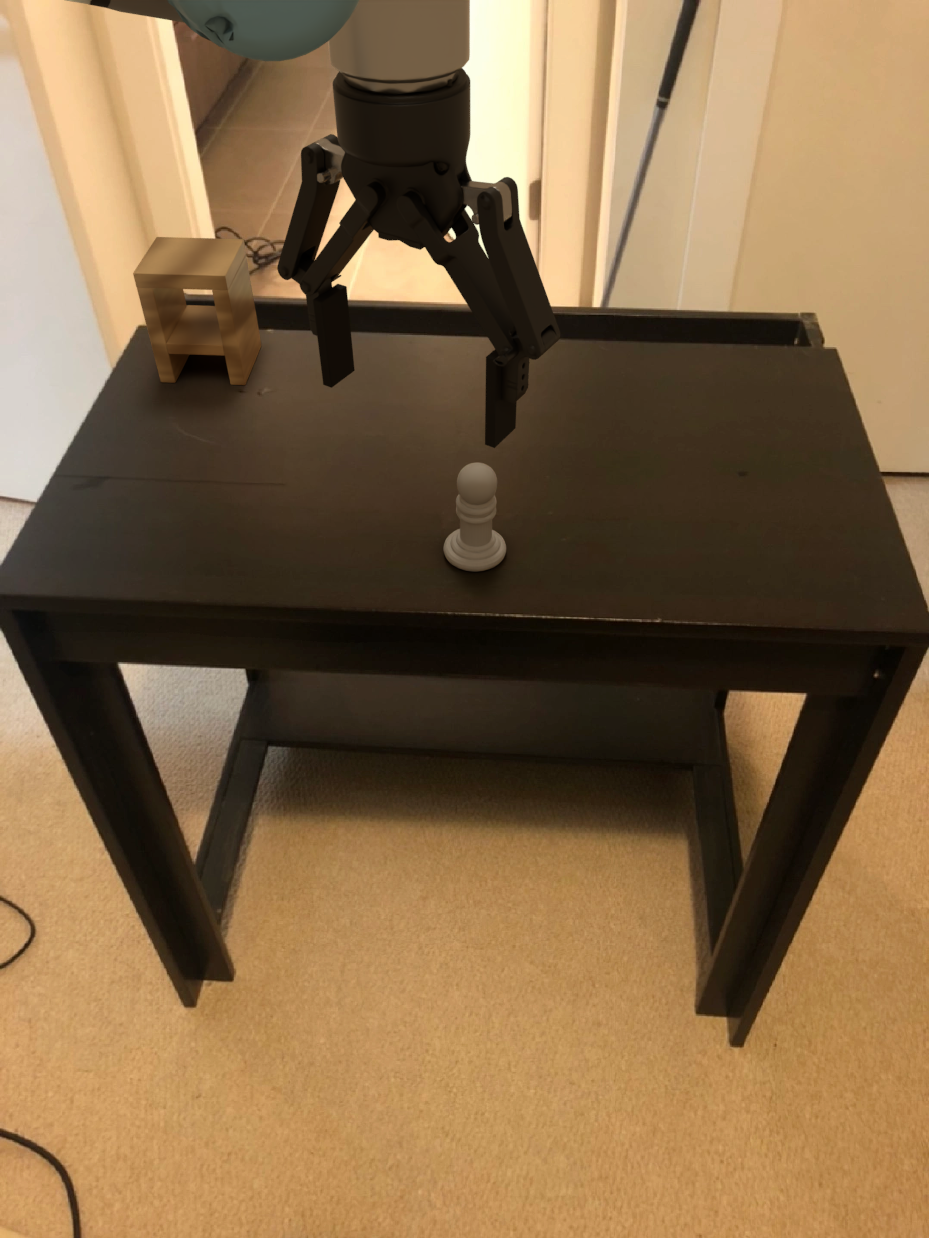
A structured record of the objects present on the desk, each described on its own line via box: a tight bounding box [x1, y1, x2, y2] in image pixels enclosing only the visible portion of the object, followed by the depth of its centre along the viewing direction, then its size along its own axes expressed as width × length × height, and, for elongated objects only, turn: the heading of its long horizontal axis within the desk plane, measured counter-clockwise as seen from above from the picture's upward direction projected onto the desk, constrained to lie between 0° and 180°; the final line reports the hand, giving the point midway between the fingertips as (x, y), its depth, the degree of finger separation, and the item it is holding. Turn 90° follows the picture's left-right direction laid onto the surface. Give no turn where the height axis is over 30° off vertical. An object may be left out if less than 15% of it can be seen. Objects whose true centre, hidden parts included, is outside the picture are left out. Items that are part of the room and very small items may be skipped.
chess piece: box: [442, 462, 507, 572], centre depth 80 cm, size 5×5×9 cm
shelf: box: [132, 236, 262, 386], centre depth 101 cm, size 9×8×12 cm
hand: (416, 406), depth 68 cm, fingers open, 13 cm apart
